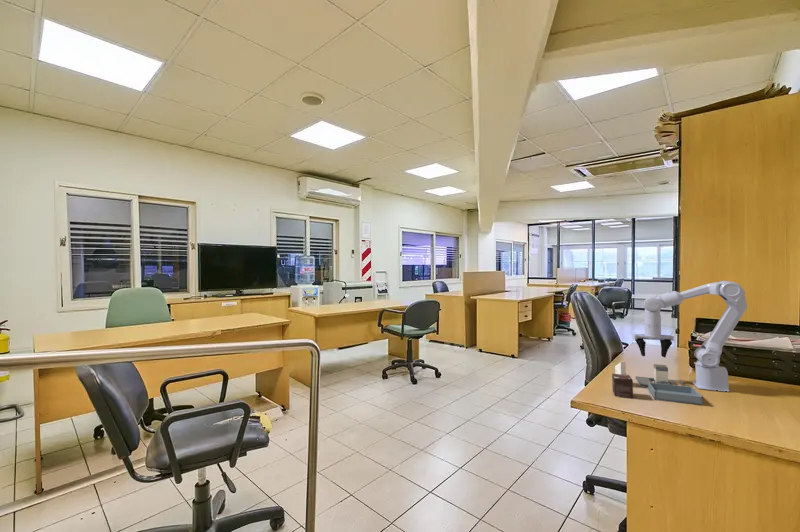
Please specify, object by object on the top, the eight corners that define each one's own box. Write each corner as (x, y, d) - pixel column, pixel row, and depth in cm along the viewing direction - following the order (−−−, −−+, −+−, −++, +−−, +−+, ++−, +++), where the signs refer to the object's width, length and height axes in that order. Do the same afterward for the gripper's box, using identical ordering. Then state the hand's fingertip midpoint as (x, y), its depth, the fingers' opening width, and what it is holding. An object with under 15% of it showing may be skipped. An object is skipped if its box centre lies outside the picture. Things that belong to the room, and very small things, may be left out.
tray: (692, 394, 129) (692, 386, 129) (703, 405, 119) (702, 397, 119) (648, 389, 135) (647, 382, 135) (654, 399, 125) (654, 391, 125)
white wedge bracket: (626, 383, 136) (620, 362, 140) (617, 388, 144) (612, 368, 148) (636, 384, 135) (630, 362, 139) (626, 389, 143) (621, 368, 148)
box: (630, 393, 132) (629, 374, 132) (633, 399, 127) (633, 379, 127) (612, 391, 135) (611, 373, 135) (614, 396, 129) (614, 377, 129)
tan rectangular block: (665, 384, 141) (665, 365, 141) (668, 387, 138) (667, 367, 138) (654, 382, 143) (653, 364, 143) (656, 385, 139) (655, 366, 139)
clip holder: (681, 383, 142) (681, 376, 142) (689, 392, 132) (689, 384, 132) (635, 378, 149) (635, 371, 149) (640, 386, 139) (640, 379, 139)
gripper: (667, 324, 148) (668, 354, 148) (630, 323, 152) (630, 353, 152) (676, 326, 141) (676, 359, 141) (636, 325, 145) (637, 357, 145)
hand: (653, 356), depth 146 cm, fingers open, 7 cm apart
